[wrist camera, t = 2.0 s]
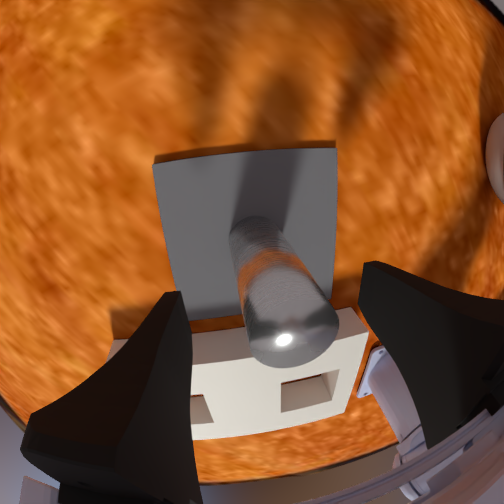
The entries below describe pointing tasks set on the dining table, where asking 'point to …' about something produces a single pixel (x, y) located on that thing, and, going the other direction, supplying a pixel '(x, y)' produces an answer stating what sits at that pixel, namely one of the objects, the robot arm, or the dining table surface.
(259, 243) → the peg
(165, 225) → the mat
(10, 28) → the dining table surface
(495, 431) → the robot arm
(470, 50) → the dining table surface
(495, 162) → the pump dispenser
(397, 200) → the dining table surface
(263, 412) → the hole block
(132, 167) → the dining table surface
